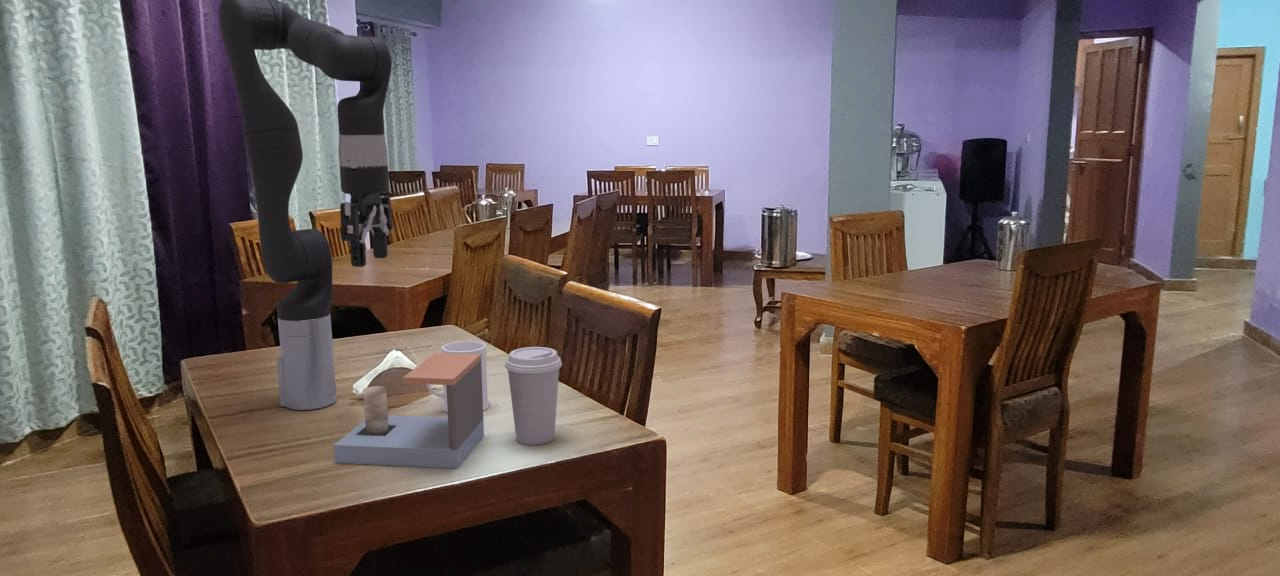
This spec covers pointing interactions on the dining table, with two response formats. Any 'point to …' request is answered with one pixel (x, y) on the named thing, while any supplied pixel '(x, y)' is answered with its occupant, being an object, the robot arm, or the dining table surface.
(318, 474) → the dining table surface
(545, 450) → the dining table surface
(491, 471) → the dining table surface
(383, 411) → the peg
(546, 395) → the coffee cup
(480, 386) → the socket board
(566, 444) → the dining table surface
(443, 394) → the mug
